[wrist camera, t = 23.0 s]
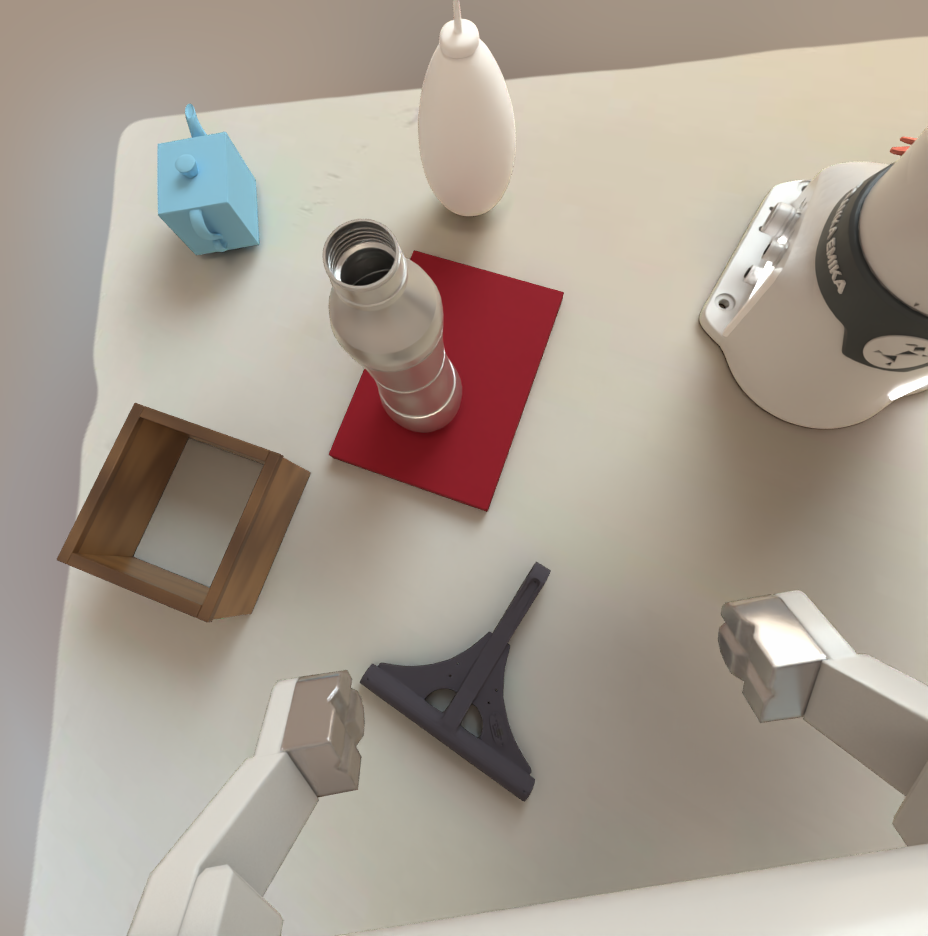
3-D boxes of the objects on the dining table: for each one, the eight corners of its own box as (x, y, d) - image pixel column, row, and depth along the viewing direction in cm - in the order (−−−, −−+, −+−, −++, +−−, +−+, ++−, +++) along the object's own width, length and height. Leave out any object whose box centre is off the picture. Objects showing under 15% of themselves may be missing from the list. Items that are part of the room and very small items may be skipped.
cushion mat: (415, 258, 47) (413, 249, 46) (562, 299, 45) (564, 292, 44) (332, 457, 44) (328, 454, 42) (487, 511, 42) (487, 510, 40)
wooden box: (185, 426, 45) (134, 402, 39) (312, 471, 43) (280, 454, 37) (120, 562, 43) (55, 559, 37) (252, 615, 41) (207, 622, 35)
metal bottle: (418, 455, 42) (345, 348, 22) (371, 394, 43) (264, 244, 24) (480, 408, 42) (461, 263, 23) (432, 349, 44) (375, 165, 24)
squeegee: (623, 617, 39) (632, 620, 36) (522, 796, 37) (524, 813, 34) (465, 518, 42) (463, 514, 39) (363, 680, 40) (353, 687, 37)
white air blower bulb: (513, 165, 48) (520, -70, 31) (514, 238, 47) (521, 33, 29) (431, 168, 49) (392, -61, 31) (429, 240, 47) (386, 42, 30)
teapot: (199, 168, 51) (148, 100, 44) (258, 158, 51) (217, 87, 43) (202, 275, 48) (148, 221, 41) (264, 264, 48) (221, 208, 41)
